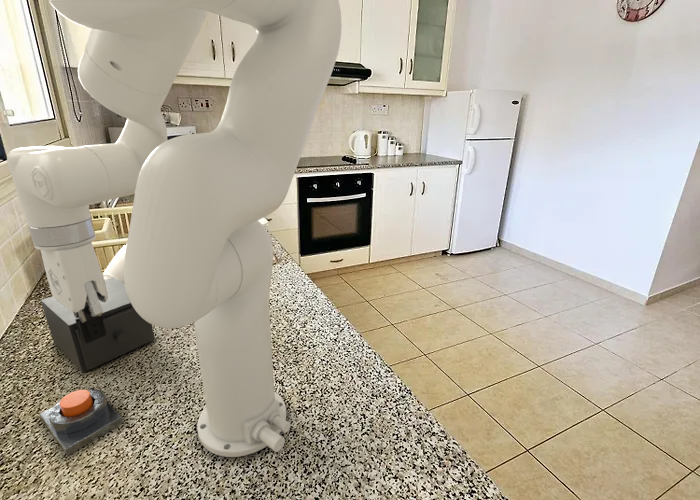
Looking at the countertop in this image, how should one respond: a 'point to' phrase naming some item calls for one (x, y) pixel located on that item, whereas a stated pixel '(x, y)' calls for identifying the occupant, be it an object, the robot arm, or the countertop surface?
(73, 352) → the grey drawer box
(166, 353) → the countertop surface
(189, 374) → the countertop surface
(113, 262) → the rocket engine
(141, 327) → the dark grey drawer
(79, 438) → the control block
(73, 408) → the button
